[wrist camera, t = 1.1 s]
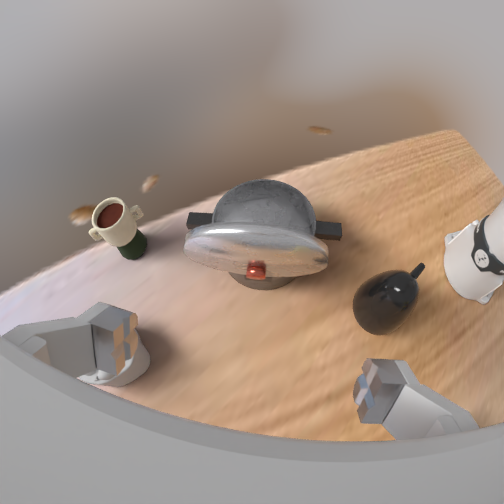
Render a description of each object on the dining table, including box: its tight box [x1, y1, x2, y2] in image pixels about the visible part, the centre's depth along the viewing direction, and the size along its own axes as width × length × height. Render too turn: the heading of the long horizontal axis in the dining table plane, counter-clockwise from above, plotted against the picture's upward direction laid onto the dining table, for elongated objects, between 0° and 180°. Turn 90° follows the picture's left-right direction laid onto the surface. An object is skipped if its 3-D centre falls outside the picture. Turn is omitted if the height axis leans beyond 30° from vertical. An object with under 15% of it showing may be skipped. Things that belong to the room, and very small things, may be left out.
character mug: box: [89, 197, 147, 259], centre depth 51 cm, size 11×7×13 cm, turn 118°
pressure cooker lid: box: [183, 222, 328, 280], centre depth 33 cm, size 16×16×3 cm
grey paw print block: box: [78, 328, 151, 387], centre depth 43 cm, size 10×13×9 cm
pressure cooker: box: [186, 179, 342, 290], centre depth 50 cm, size 18×26×11 cm
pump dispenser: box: [353, 263, 425, 335], centre depth 42 cm, size 10×10×15 cm
